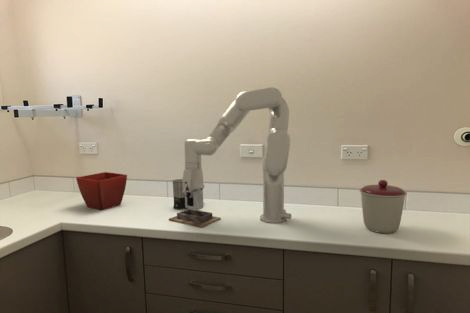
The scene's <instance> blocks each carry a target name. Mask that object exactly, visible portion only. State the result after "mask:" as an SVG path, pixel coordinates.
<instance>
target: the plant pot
mask: <svg viewBox="0 0 470 313" xmlns="http://www.w3.org/2000/svg"><path fill="white" fill-rule="evenodd" d="M75 179H76V183H77V187H78V189H79V192H80V196H82V199H83V201H84V204H85V206H86V207H87V208H90V209H94V210H99V211H104V210H107V209H110V208H113V207H116V206H120V205H122V202H123V198H124V195H125V191H126V186H127V180H128V174H123V173H116V172H109V171H108V172H107V171H104V172H98V173H93V174H88V175H82V176H77V177H76V178H75Z"/></svg>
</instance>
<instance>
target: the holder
mask: <svg viewBox="0 0 470 313" xmlns="http://www.w3.org/2000/svg"><path fill="white" fill-rule="evenodd" d="M220 220H222V217H220V216H214V215H213V212H210V211H204V210H200V209H199V210H195V209H190V208H187V209H184V210H182V211H179V212H176V215H175V216H173V217H170V218H168V221H169V222H174V223H178V224H184V225H187V226H188V225H189V226H192V227H197V228H201V229H202V228H204V227H207V226H209V225H211V224H213V223H217V222H218V221H220Z"/></svg>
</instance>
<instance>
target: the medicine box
mask: <svg viewBox="0 0 470 313" xmlns="http://www.w3.org/2000/svg"><path fill="white" fill-rule="evenodd" d="M203 190H204V189H203ZM203 190H199V189H198V190H195V191H193V194H192V198H193V206H188V205H187V197H186V195H185V208H187V209H194V210H199V211H200V210H201V209H203V208H204V191H203ZM189 194H190V192H189Z"/></svg>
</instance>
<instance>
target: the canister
mask: <svg viewBox="0 0 470 313" xmlns="http://www.w3.org/2000/svg"><path fill="white" fill-rule="evenodd" d="M388 184H389V183H388V181H387V180H385V179H380V180H378V184H367V185H365V186H363V187H361V188H360V189H359V192H360V196H361V205H362V206H361V209H362V218H363V223H364V226H365V227H366V229H368V230H370V231H372V232H376V233H378V234H379V233H381V234H392V233H395V232H397V231H398V230H399V228H400V225H401V220H402V216H403V210H404V204H405V197H406V196H407V194H408V193H407V191H405V190H404V189H402V188H401V187H398V186H394V185H388Z"/></svg>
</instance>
